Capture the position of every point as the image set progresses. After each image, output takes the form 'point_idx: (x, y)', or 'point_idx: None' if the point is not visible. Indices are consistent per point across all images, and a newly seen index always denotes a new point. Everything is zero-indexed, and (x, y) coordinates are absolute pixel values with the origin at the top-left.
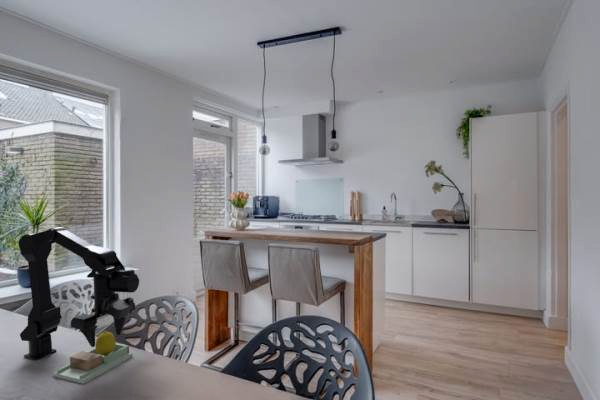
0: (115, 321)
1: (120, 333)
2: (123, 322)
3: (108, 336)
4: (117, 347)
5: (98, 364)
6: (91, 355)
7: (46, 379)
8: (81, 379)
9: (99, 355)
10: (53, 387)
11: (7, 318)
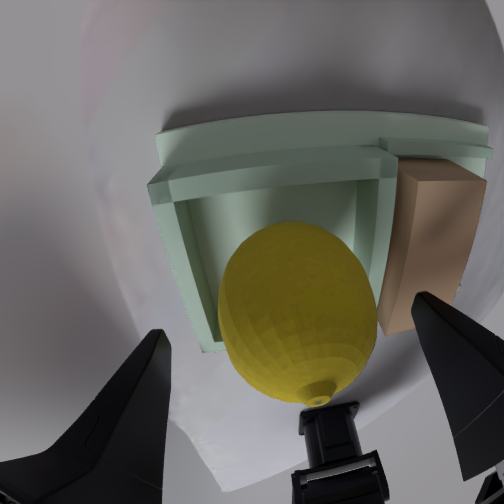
0: (155, 461)
1: (148, 334)
2: (91, 416)
3: (329, 325)
4: (195, 263)
5: (411, 162)
6: (433, 241)
7: (460, 284)
8: (486, 139)
9: (428, 189)
10: (498, 212)
11: (237, 488)
